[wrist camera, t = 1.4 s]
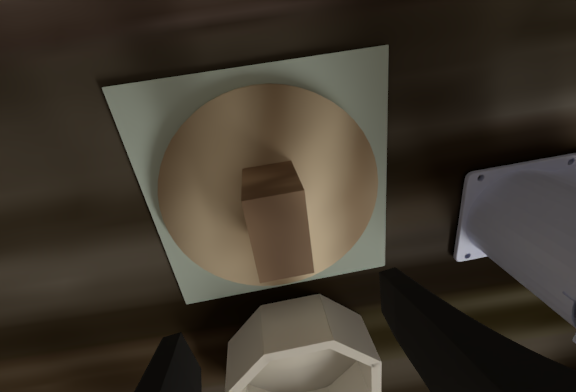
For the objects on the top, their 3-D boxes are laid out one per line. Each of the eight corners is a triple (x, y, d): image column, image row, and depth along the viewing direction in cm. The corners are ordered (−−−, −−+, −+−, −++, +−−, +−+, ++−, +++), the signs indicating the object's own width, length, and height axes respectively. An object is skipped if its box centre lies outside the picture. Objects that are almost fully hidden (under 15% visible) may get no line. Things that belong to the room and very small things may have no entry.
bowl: (359, 285, 25) (381, 330, 21) (362, 373, 30) (380, 423, 26) (218, 313, 24) (212, 365, 20) (246, 399, 29) (246, 453, 25)
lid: (371, 66, 17) (423, 69, 12) (372, 257, 23) (407, 311, 18) (127, 103, 16) (75, 123, 11) (195, 292, 22) (181, 358, 17)
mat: (385, 44, 17) (388, 44, 17) (382, 262, 24) (384, 265, 24) (104, 86, 16) (101, 87, 16) (187, 300, 23) (186, 304, 23)
